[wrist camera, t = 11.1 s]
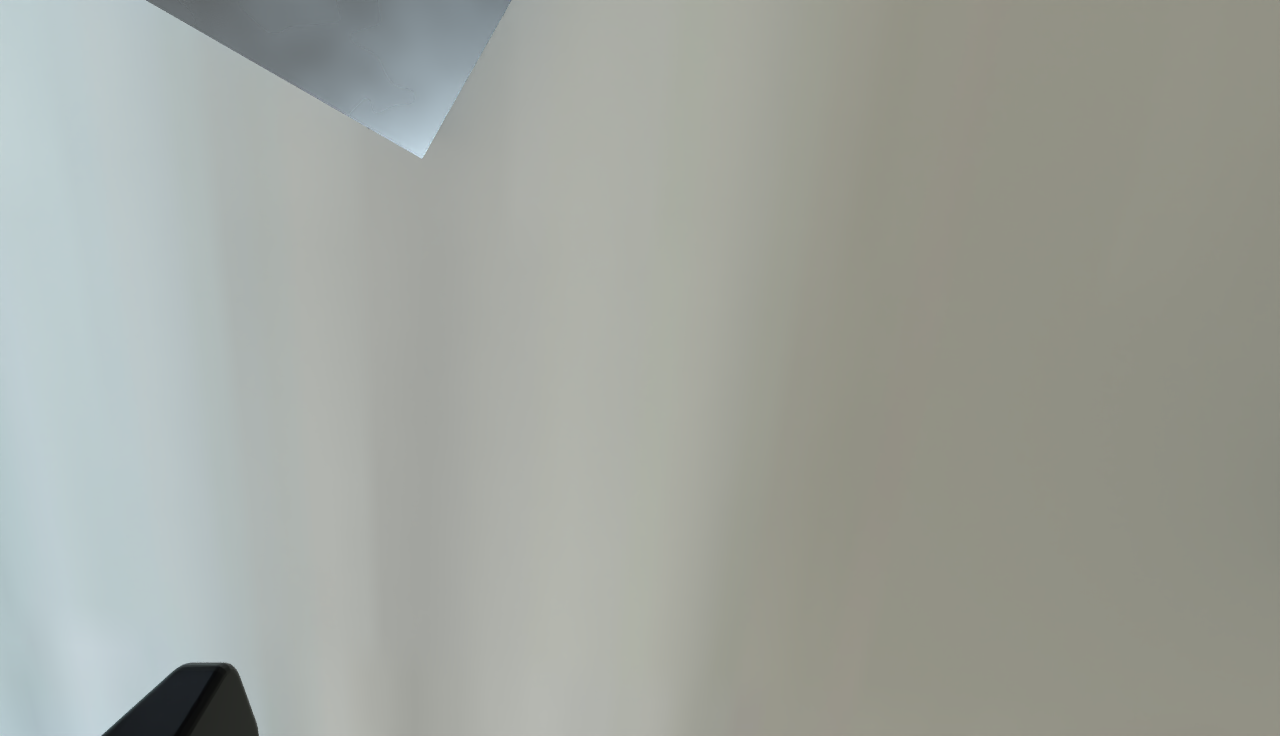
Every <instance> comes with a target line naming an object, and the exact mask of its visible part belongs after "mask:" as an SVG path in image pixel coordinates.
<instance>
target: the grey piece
mask: <svg viewBox="0 0 1280 736" xmlns="http://www.w3.org/2000/svg"><path fill="white" fill-rule="evenodd" d="M147 1H148V2H150V3H152V4H154V5H155V6H157V7H159V8H161V9H162V10H164V11H166V12H167V13H169V14H171V15H173V16H174V17H176V18H178V19H180V20H181V21H183V22H185V23H187V24H188V25H190V26H192V27H194V28H195V29H197V30H199V31H201V32H202V33H204V34H206V35H208V36H209V37H211V38H213V39H214V40H216V41H218V42H220V43H221V44H223V45H225V46H227V47H228V48H230V49H232V50H234V51H235V52H237V53H239V54H241V55H242V56H244V57H246V58H248V59H249V60H251V61H253V62H255V63H256V64H258V65H260V66H261V67H263V68H265V69H267V70H268V71H270V72H272V73H274V74H275V75H277V76H279V77H281V78H282V79H284V80H286V81H288V82H289V83H291V84H293V85H295V86H296V87H298V88H300V89H302V90H303V91H305V92H307V93H308V94H310V95H312V96H314V97H315V98H317V99H319V100H321V101H322V102H324V103H326V104H328V105H329V106H331V107H333V108H335V109H336V110H338V111H340V112H342V113H343V114H345V115H347V116H349V117H350V118H352V119H354V120H355V121H357V122H359V123H361V124H362V125H364V126H366V127H368V128H369V129H371V130H373V131H375V132H376V133H378V134H380V135H382V136H383V137H385V138H387V139H389V140H390V141H392V142H394V143H396V144H397V145H399V146H401V147H402V148H404V149H406V150H408V151H409V152H411V153H413V154H415V155H416V156H418V157H420V158H423V156H424V154H425V153H426V151H427V149H428V147H429V145H430V144H431V142H432V140H433V138H434V137H435V135H436V133H437V131H438V130H439V128H440V126H441V124H442V122H443V121H444V119H445V117H446V115H447V114H448V112H449V110H450V108H451V106H452V105H453V103H454V101H455V99H456V98H457V96H458V94H459V92H460V91H461V89H462V87H463V85H464V83H465V82H466V80H467V78H468V76H469V75H470V73H471V71H472V69H473V68H474V66H475V64H476V62H477V60H478V59H479V57H480V55H481V53H482V52H483V50H484V48H485V46H486V44H487V43H488V41H489V39H490V37H491V36H492V34H493V32H494V30H495V29H496V27H497V25H498V23H499V21H500V20H501V18H502V16H503V14H504V13H505V11H506V9H507V7H508V5H509V4H510V2H511V0H147Z"/></svg>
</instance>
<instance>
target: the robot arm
mask: <svg viewBox="0 0 1280 736" xmlns="http://www.w3.org/2000/svg"><path fill="white" fill-rule="evenodd" d="M102 736H259V734H258V727H257V723H256V720H255V717H254V715H253V712H252V709H251V706H250V703H249V701H248V698H247V695H246V692H245V690H244V687H243V684H242V681H241V678H240V676H239V674H238V672H237V670H236V669H235V668H234V667H233V666H232V665H231V664H228V663H187V664H184V665H182V666H180V667H178V668H177V669H175V670H174V671H173V672H172V673H171V674H169V675H168V676H167V677H166V678H165V679H164V680H163V681H162V682H161V683H159V684H158V685H157V686H156V687H155V688H154V689H153V690H152V691H151V692H149V693H148V694H147V695H146V696H145V697H144V698H143V699H142V700H141V701H139V702H138V703H137V704H136V705H135V706H134V707H133V708H132V709H131V710H129V711H128V712H127V713H126V714H125V715H124V716H123V717H122V718H121V719H119V720H118V721H117V722H116V723H115V724H114V725H113V726H112V727H111V728H109V729H108V730H107V731H106V732H105V733H104V734H103V735H102Z"/></svg>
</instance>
